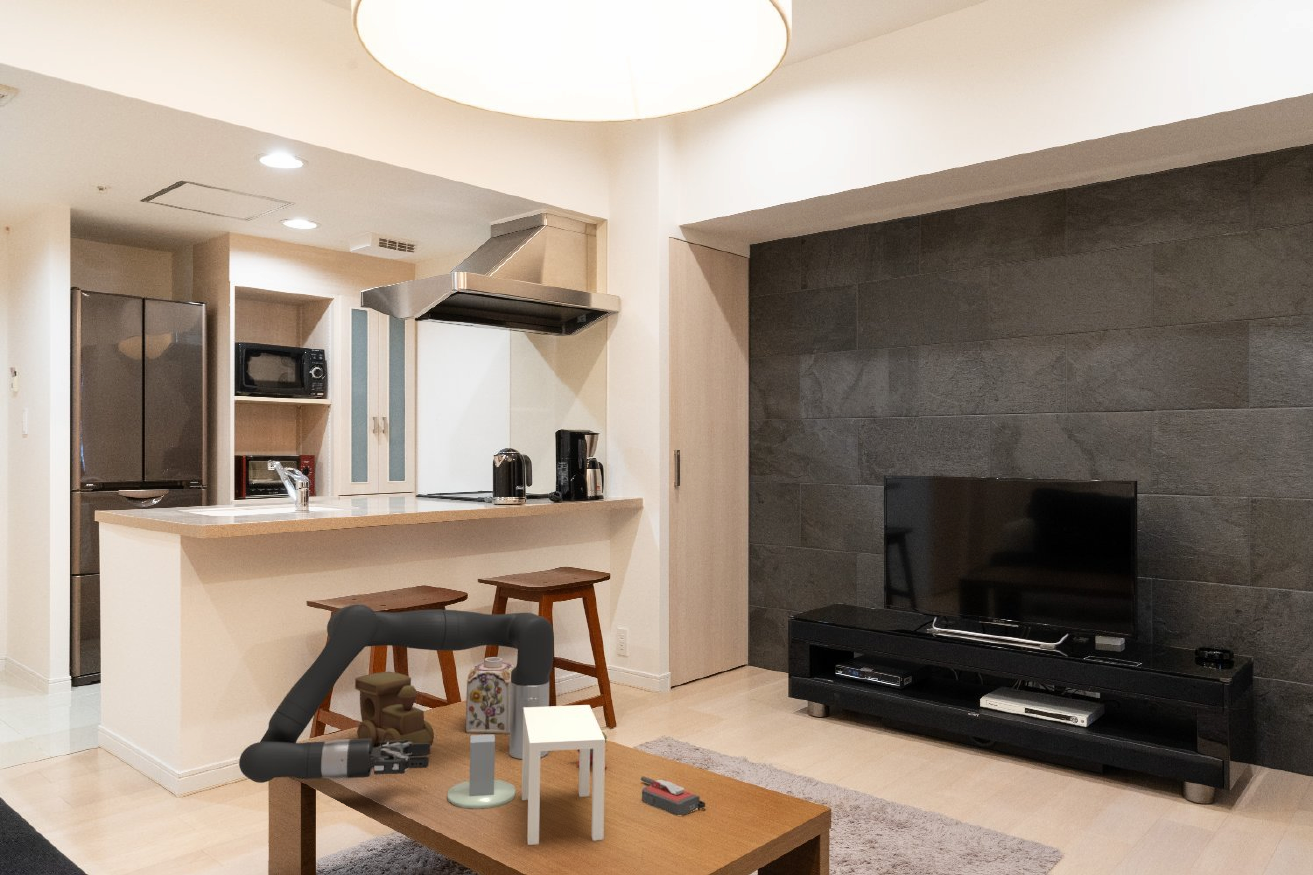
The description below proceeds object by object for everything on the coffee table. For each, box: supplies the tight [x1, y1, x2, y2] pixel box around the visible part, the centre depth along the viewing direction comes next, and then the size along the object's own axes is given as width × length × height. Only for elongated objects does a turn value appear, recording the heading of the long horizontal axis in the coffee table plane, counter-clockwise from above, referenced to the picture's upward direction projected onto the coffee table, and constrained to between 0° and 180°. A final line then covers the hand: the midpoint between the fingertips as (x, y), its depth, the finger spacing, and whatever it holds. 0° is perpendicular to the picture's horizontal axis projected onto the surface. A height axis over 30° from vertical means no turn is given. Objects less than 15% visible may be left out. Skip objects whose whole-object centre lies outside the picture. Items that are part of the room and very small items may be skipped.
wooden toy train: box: [354, 671, 435, 748], centre depth 219 cm, size 20×11×17 cm, turn 50°
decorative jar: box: [465, 656, 516, 735], centre depth 238 cm, size 12×12×18 cm
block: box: [469, 733, 496, 796], centre depth 189 cm, size 5×5×11 cm
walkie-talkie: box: [640, 775, 706, 816], centre depth 189 cm, size 9×4×20 cm
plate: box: [447, 779, 516, 810], centre depth 189 cm, size 14×14×1 cm
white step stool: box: [521, 704, 606, 846], centre depth 179 cm, size 14×24×19 cm, turn 11°
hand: (429, 754), depth 187 cm, fingers open, 8 cm apart
